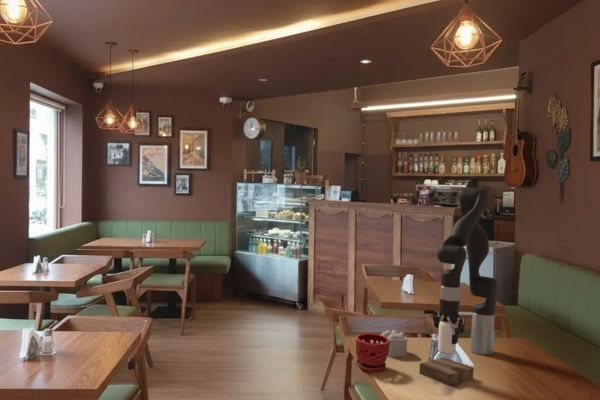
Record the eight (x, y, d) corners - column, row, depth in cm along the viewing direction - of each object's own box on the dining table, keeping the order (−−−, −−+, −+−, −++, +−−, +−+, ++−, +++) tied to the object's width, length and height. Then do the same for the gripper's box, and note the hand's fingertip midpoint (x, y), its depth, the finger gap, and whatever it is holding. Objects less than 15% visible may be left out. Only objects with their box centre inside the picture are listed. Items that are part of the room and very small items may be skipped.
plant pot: (350, 370, 205) (351, 339, 205) (361, 360, 217) (362, 331, 217) (382, 376, 200) (384, 345, 199) (392, 366, 212) (393, 336, 211)
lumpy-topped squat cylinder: (385, 357, 223) (386, 336, 222) (376, 347, 235) (377, 327, 235) (409, 356, 224) (410, 336, 224) (398, 347, 237) (399, 327, 237)
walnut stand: (443, 367, 213) (443, 357, 213) (472, 378, 201) (473, 367, 201) (419, 373, 204) (419, 363, 204) (449, 385, 193) (449, 374, 193)
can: (456, 355, 199) (457, 323, 199) (438, 353, 200) (439, 322, 200) (454, 349, 206) (456, 319, 205) (437, 348, 207) (438, 317, 206)
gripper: (471, 300, 198) (469, 345, 199) (441, 293, 210) (439, 335, 211) (459, 302, 194) (457, 348, 194) (428, 295, 205) (426, 338, 206)
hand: (447, 341), depth 202 cm, fingers closed on can, 5 cm apart
